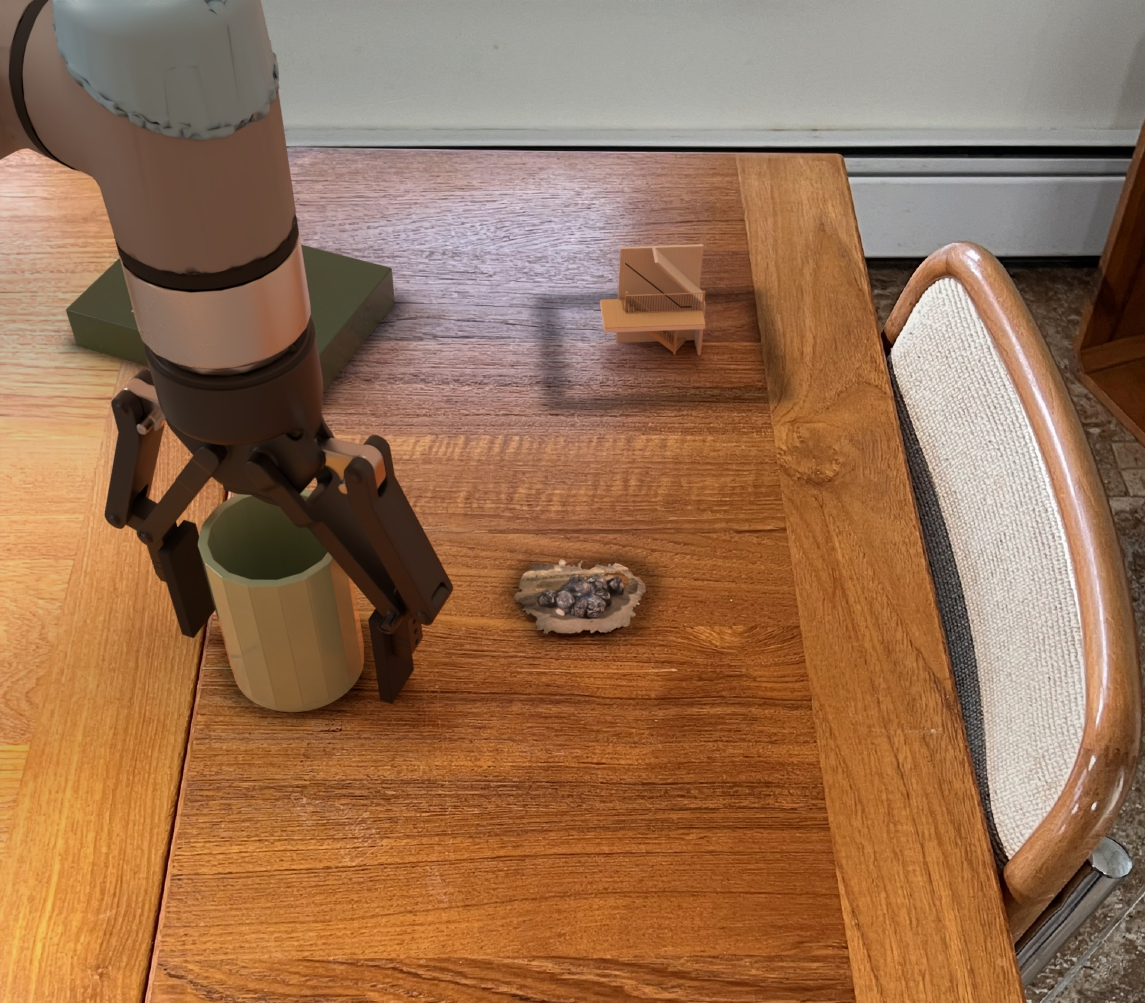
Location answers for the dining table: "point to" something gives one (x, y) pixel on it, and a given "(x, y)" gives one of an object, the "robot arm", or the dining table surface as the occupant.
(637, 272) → the architectural model
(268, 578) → the cup
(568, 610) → the blueberries
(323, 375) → the green base plate
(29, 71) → the robot arm
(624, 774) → the dining table surface
